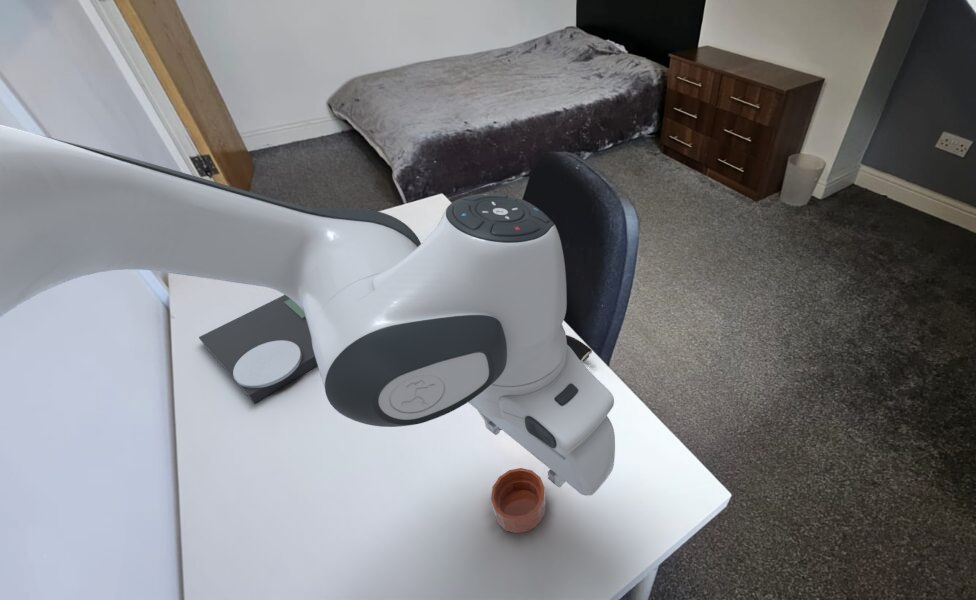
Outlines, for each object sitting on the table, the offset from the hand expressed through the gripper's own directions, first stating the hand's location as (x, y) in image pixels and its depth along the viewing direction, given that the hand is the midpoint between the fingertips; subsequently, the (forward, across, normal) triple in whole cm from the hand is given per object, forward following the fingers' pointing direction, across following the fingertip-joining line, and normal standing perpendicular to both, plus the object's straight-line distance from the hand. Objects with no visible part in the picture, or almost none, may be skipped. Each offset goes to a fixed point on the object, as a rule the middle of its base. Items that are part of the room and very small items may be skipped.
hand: (526, 452), depth 51 cm
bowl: (+18, -3, 0) cm, 18 cm away
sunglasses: (+18, -18, +18) cm, 31 cm away
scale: (+18, -58, -4) cm, 61 cm away
